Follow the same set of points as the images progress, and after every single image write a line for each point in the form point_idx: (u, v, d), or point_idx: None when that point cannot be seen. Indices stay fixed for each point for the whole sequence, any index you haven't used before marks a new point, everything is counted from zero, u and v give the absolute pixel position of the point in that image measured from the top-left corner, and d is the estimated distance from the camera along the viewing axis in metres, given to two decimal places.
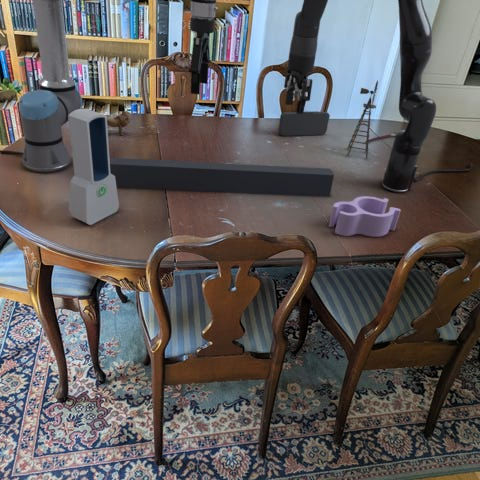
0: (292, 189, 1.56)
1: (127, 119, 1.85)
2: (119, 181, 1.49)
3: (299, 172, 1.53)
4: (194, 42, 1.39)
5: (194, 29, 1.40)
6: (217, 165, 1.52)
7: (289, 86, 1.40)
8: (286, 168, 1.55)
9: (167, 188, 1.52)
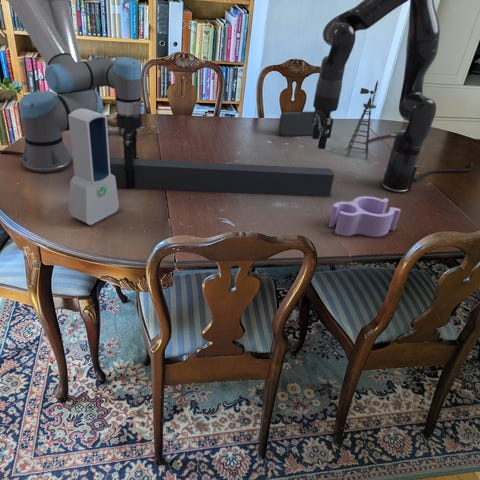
0: (292, 189, 1.56)
1: None
2: (119, 181, 1.49)
3: (299, 172, 1.53)
4: (124, 145, 1.39)
5: (122, 126, 1.39)
6: (217, 165, 1.52)
7: (315, 122, 1.49)
8: (286, 168, 1.55)
9: (167, 188, 1.52)
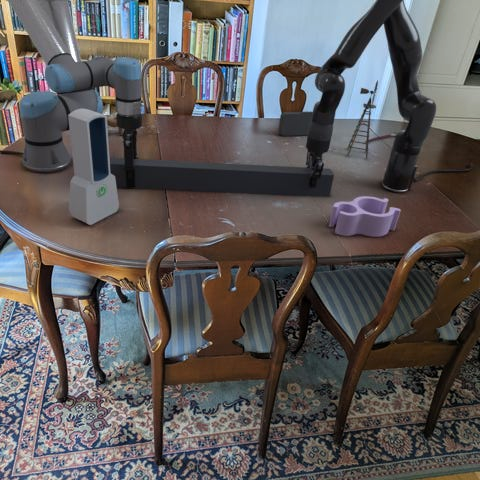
0: (292, 189, 1.56)
1: None
2: (119, 181, 1.49)
3: (299, 172, 1.53)
4: (124, 145, 1.39)
5: (122, 126, 1.39)
6: (217, 165, 1.52)
7: (308, 163, 1.56)
8: (286, 168, 1.55)
9: (167, 188, 1.52)
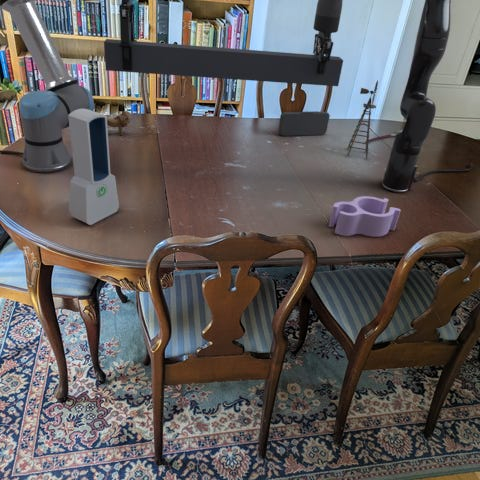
0: (298, 77, 1.48)
1: (127, 119, 1.85)
2: (115, 63, 1.40)
3: (306, 57, 1.45)
4: (120, 15, 1.30)
5: None
6: (220, 48, 1.44)
7: (316, 49, 1.48)
8: (293, 54, 1.47)
9: (166, 72, 1.43)
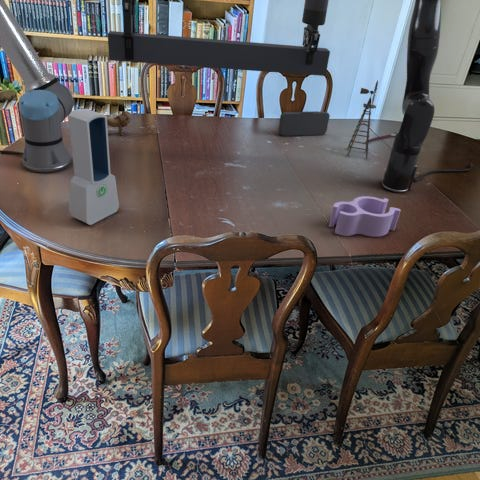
0: (288, 67, 1.58)
1: (127, 119, 1.85)
2: (118, 53, 1.51)
3: (295, 48, 1.56)
4: (123, 8, 1.41)
5: None
6: (215, 40, 1.55)
7: (305, 41, 1.59)
8: (283, 45, 1.58)
9: (165, 62, 1.54)
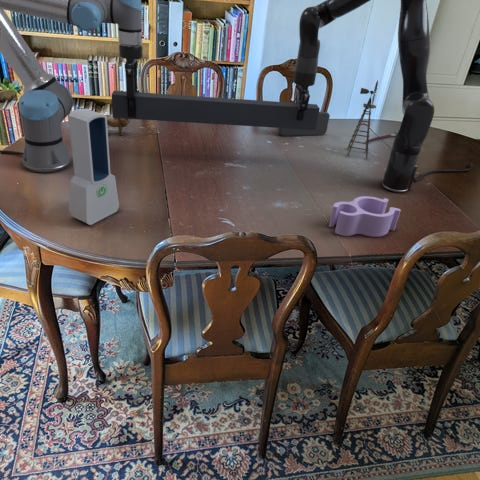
0: (280, 122, 1.69)
1: (127, 119, 1.85)
2: (121, 112, 1.62)
3: (287, 105, 1.67)
4: (126, 73, 1.52)
5: (124, 56, 1.52)
6: (212, 98, 1.65)
7: (296, 98, 1.69)
8: (276, 102, 1.69)
9: (165, 119, 1.65)
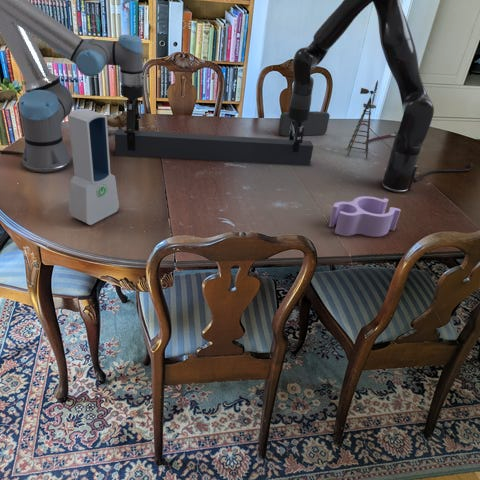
0: (276, 158, 1.77)
1: None
2: (124, 150, 1.70)
3: (282, 143, 1.74)
4: (127, 108, 1.57)
5: (125, 95, 1.59)
6: (210, 136, 1.73)
7: (291, 129, 1.77)
8: (271, 139, 1.76)
9: (166, 156, 1.73)
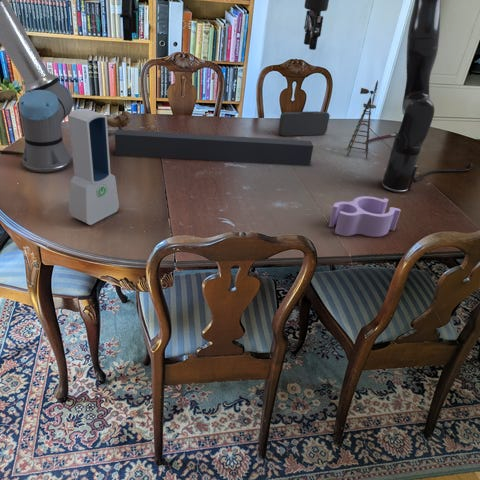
0: (276, 158, 1.77)
1: (127, 119, 1.85)
2: (124, 150, 1.70)
3: (282, 143, 1.74)
4: None
5: None
6: (210, 136, 1.73)
7: (307, 26, 1.57)
8: (271, 139, 1.76)
9: (166, 156, 1.73)
